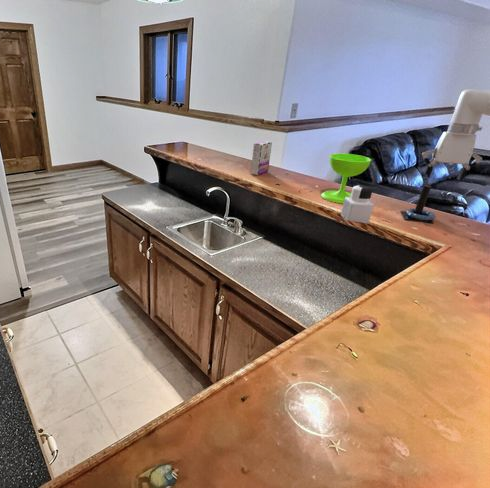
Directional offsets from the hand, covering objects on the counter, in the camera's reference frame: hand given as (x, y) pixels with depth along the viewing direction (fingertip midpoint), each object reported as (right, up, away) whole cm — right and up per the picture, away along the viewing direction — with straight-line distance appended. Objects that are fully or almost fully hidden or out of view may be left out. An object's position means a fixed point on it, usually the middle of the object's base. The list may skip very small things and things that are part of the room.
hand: (442, 178), depth 126 cm
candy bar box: (-48, +15, +67) cm, 84 cm away
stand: (-4, -14, +9) cm, 17 cm away
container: (-28, -15, +8) cm, 32 cm away
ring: (-3, -12, +7) cm, 15 cm away
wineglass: (-22, -3, +31) cm, 38 cm away
